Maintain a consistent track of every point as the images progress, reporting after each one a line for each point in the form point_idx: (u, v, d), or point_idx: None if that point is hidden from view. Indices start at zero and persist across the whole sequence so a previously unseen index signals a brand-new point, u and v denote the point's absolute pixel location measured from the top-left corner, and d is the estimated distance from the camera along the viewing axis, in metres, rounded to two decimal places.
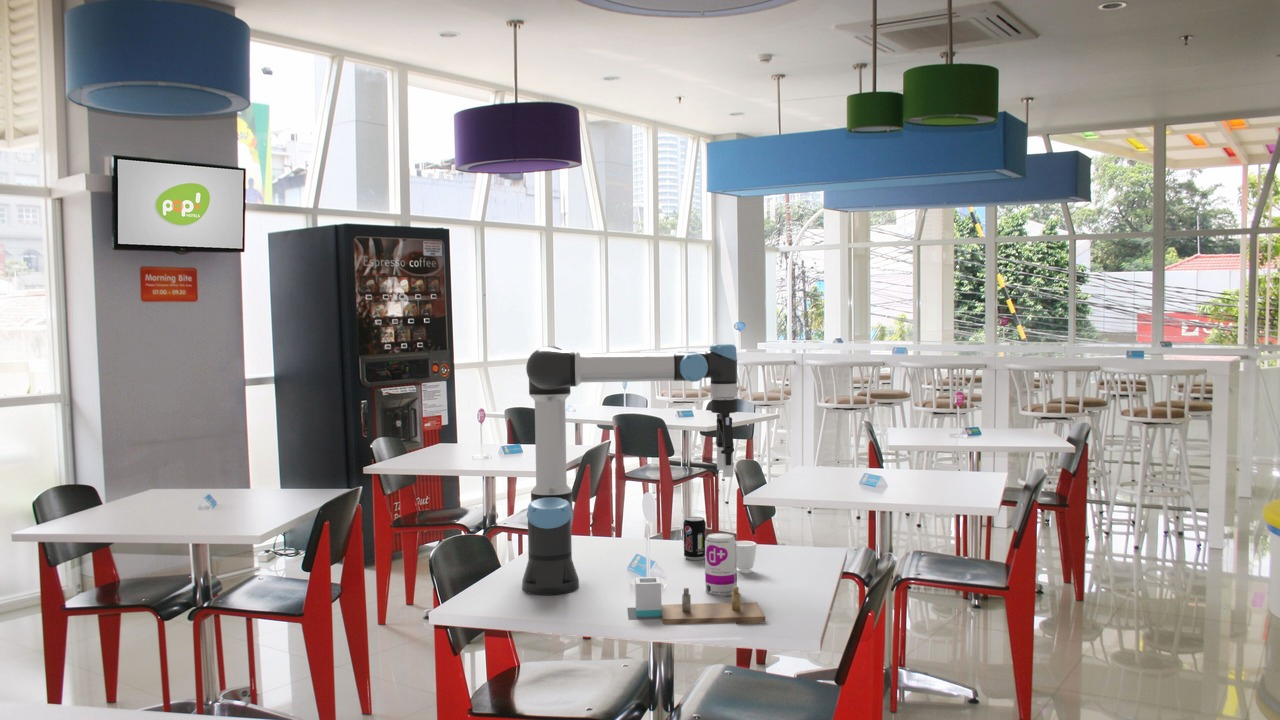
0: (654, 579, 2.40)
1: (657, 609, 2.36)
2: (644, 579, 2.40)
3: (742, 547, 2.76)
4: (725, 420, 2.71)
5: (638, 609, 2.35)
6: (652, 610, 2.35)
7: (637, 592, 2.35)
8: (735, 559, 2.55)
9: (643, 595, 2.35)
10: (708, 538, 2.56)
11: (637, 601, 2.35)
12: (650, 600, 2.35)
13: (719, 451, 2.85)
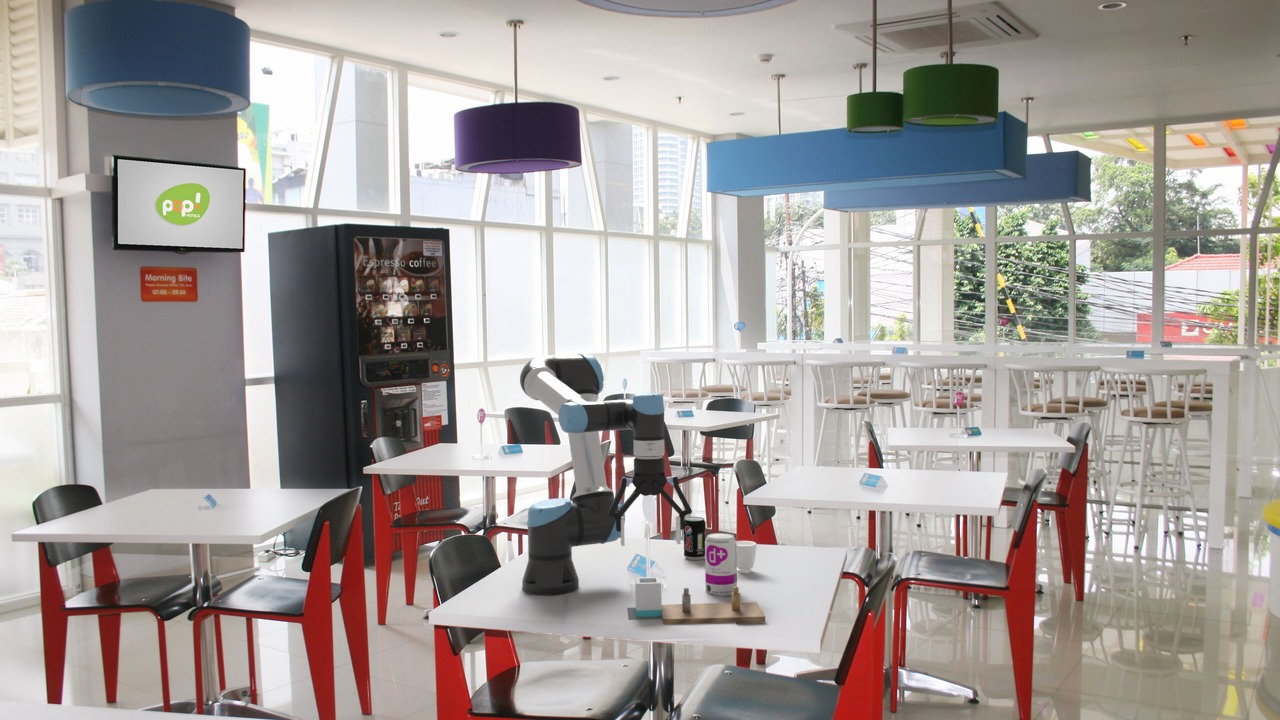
0: (654, 579, 2.40)
1: (657, 609, 2.36)
2: (644, 579, 2.40)
3: (742, 547, 2.76)
4: (621, 480, 2.39)
5: (638, 609, 2.35)
6: (652, 610, 2.35)
7: (637, 592, 2.35)
8: (735, 559, 2.55)
9: (643, 595, 2.35)
10: (708, 538, 2.56)
11: (637, 601, 2.35)
12: (650, 600, 2.35)
13: (676, 520, 2.40)
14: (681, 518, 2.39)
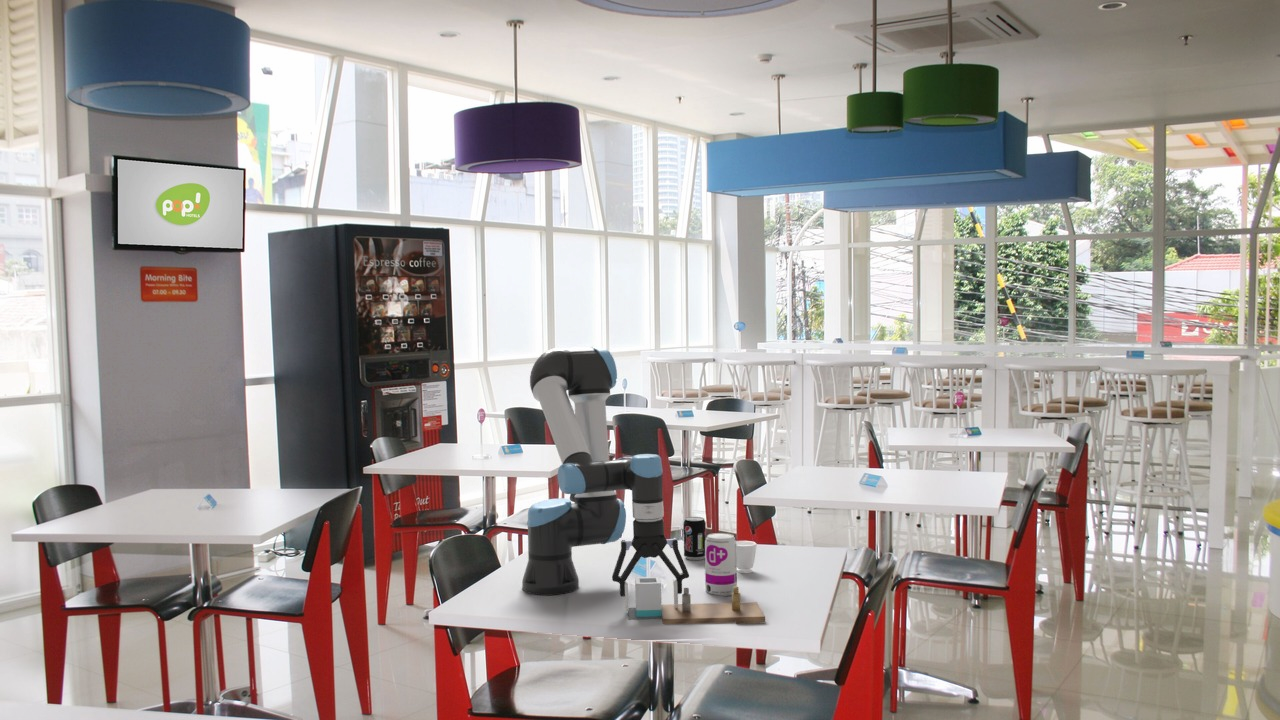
0: (654, 579, 2.40)
1: (657, 609, 2.36)
2: (644, 579, 2.40)
3: (742, 547, 2.76)
4: None
5: (638, 609, 2.35)
6: (652, 610, 2.35)
7: (637, 592, 2.35)
8: (735, 559, 2.55)
9: (643, 595, 2.35)
10: (708, 538, 2.56)
11: (637, 601, 2.35)
12: (650, 600, 2.35)
13: (673, 584, 2.39)
14: (678, 582, 2.38)
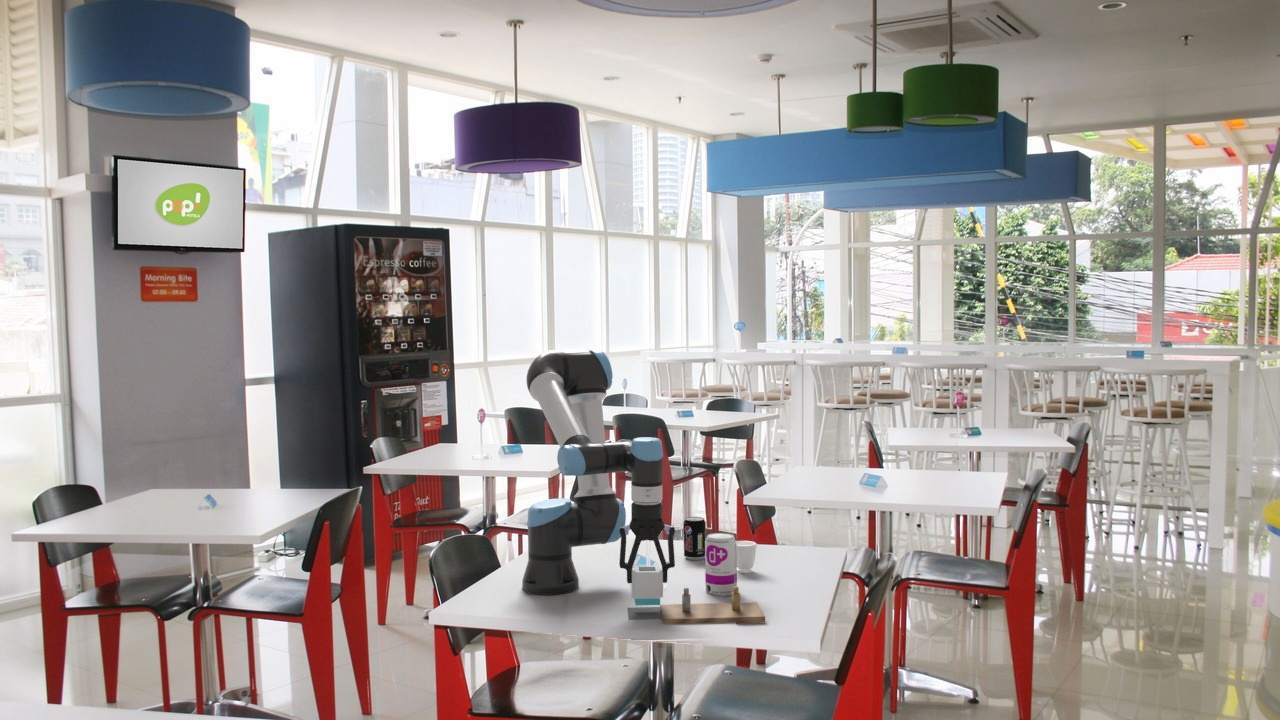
0: (653, 568, 2.41)
1: (656, 598, 2.36)
2: (643, 567, 2.41)
3: (742, 547, 2.76)
4: None
5: (637, 597, 2.36)
6: (650, 598, 2.36)
7: (636, 581, 2.36)
8: (735, 559, 2.55)
9: (642, 584, 2.36)
10: (708, 538, 2.56)
11: (636, 589, 2.36)
12: (649, 589, 2.36)
13: None
14: (664, 571, 2.38)
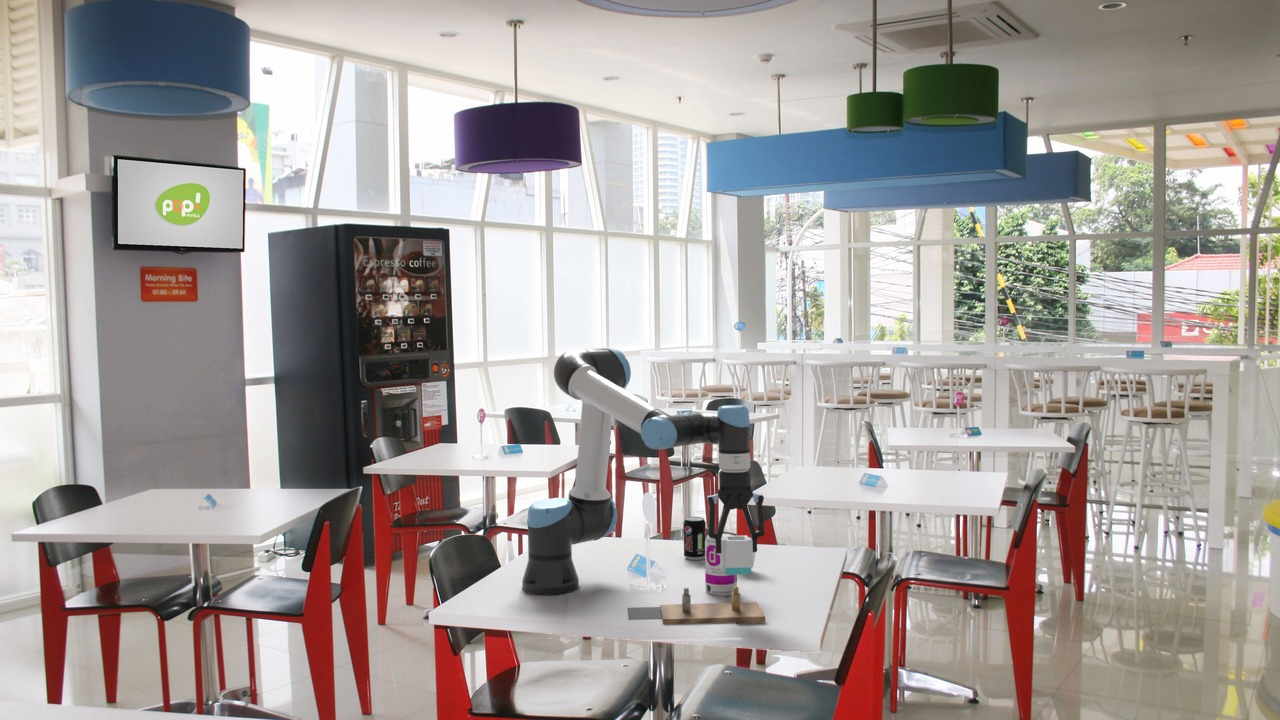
0: (742, 537, 2.38)
1: (747, 567, 2.33)
2: (731, 537, 2.38)
3: None
4: (707, 499, 2.36)
5: (727, 567, 2.33)
6: (741, 567, 2.33)
7: (726, 549, 2.33)
8: None
9: (733, 552, 2.33)
10: (708, 538, 2.56)
11: (726, 559, 2.33)
12: (740, 558, 2.33)
13: None
14: (753, 540, 2.35)
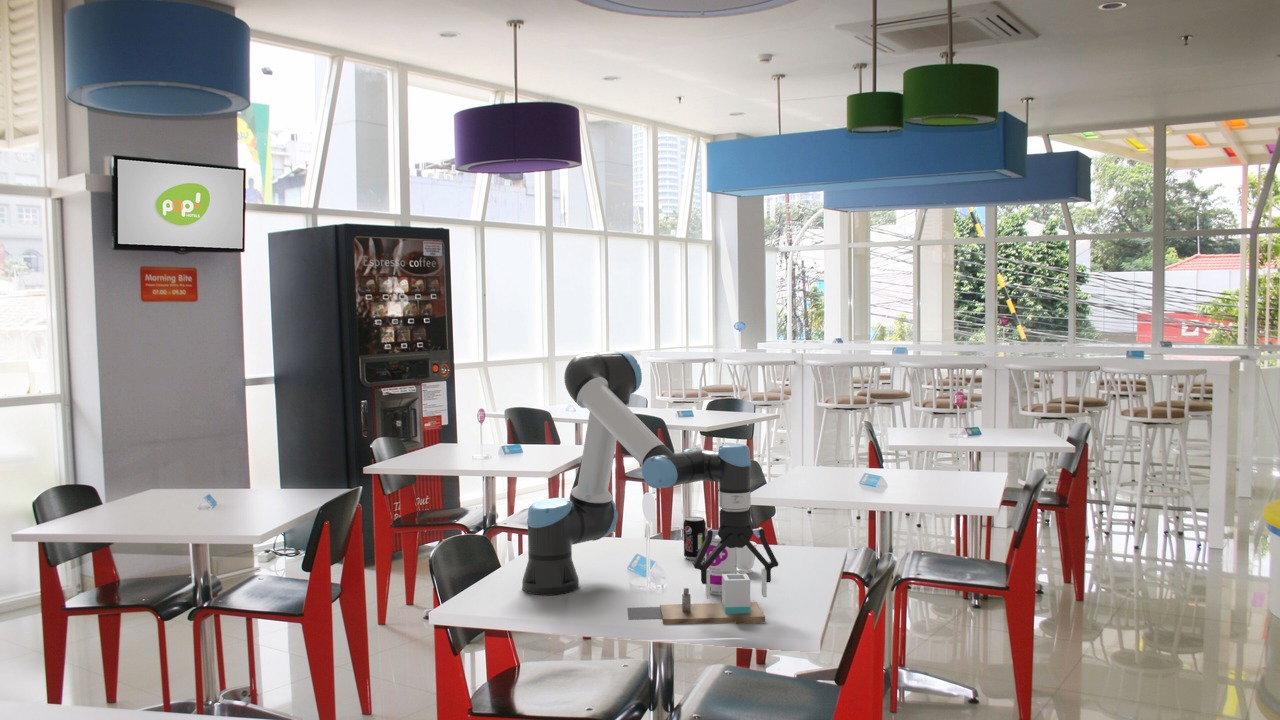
0: (741, 576, 2.38)
1: (746, 606, 2.33)
2: (731, 576, 2.38)
3: None
4: (706, 531, 2.36)
5: (727, 606, 2.33)
6: (741, 607, 2.33)
7: (726, 589, 2.33)
8: (735, 559, 2.55)
9: (732, 592, 2.33)
10: None
11: (726, 598, 2.33)
12: (739, 597, 2.33)
13: (761, 572, 2.37)
14: (767, 571, 2.36)
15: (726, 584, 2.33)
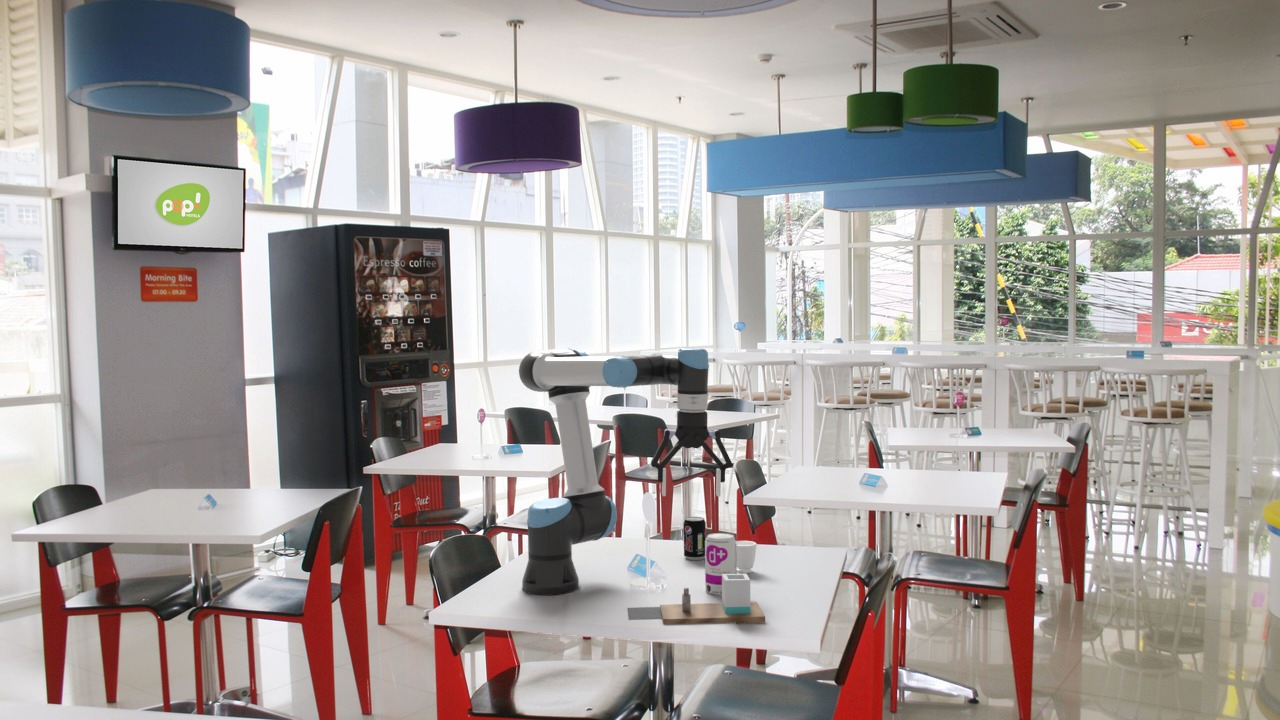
0: (741, 576, 2.38)
1: (746, 606, 2.33)
2: (731, 576, 2.38)
3: (742, 547, 2.76)
4: (664, 432, 2.44)
5: (727, 606, 2.33)
6: (741, 607, 2.33)
7: (726, 589, 2.33)
8: (735, 559, 2.55)
9: (732, 592, 2.33)
10: (708, 538, 2.56)
11: (726, 598, 2.33)
12: (739, 597, 2.33)
13: (716, 473, 2.45)
14: (722, 471, 2.44)
15: (726, 584, 2.33)
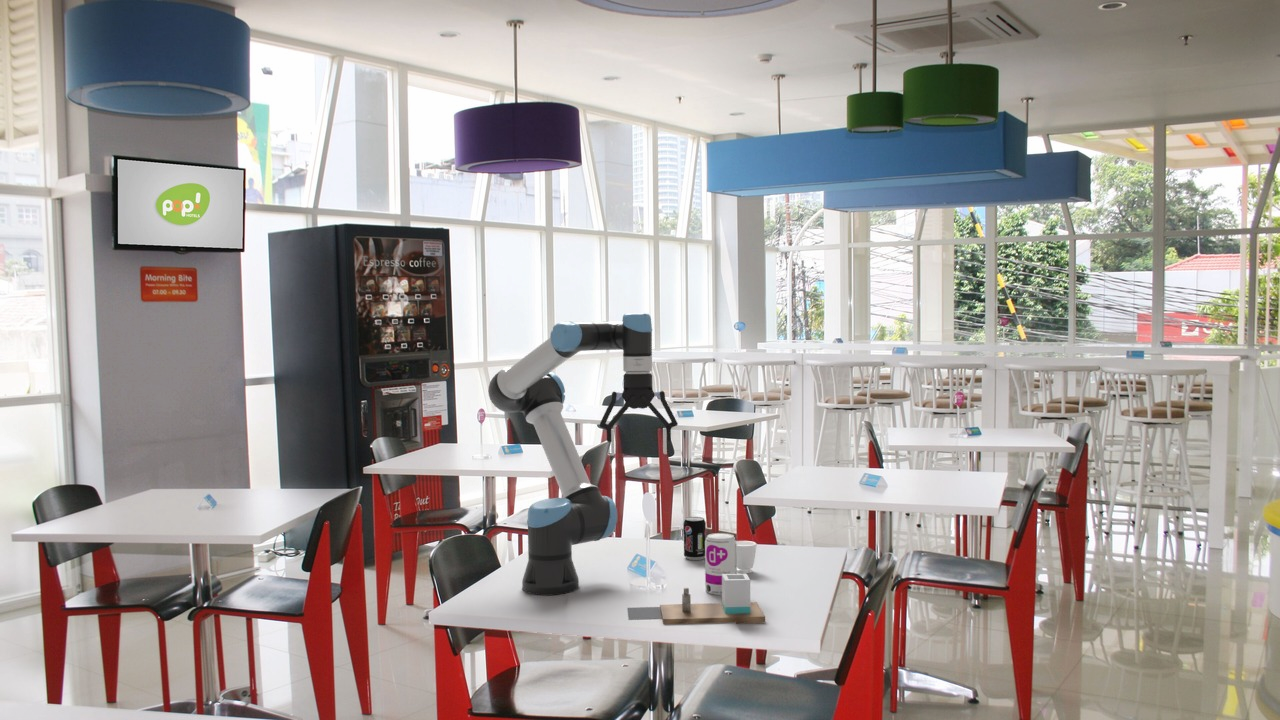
0: (741, 576, 2.38)
1: (746, 606, 2.33)
2: (731, 576, 2.38)
3: (742, 547, 2.76)
4: None
5: (727, 606, 2.33)
6: (741, 607, 2.33)
7: (726, 589, 2.33)
8: (735, 559, 2.55)
9: (732, 592, 2.33)
10: (708, 538, 2.56)
11: (726, 598, 2.33)
12: (739, 597, 2.33)
13: None
14: (667, 430, 2.56)
15: (726, 584, 2.33)
